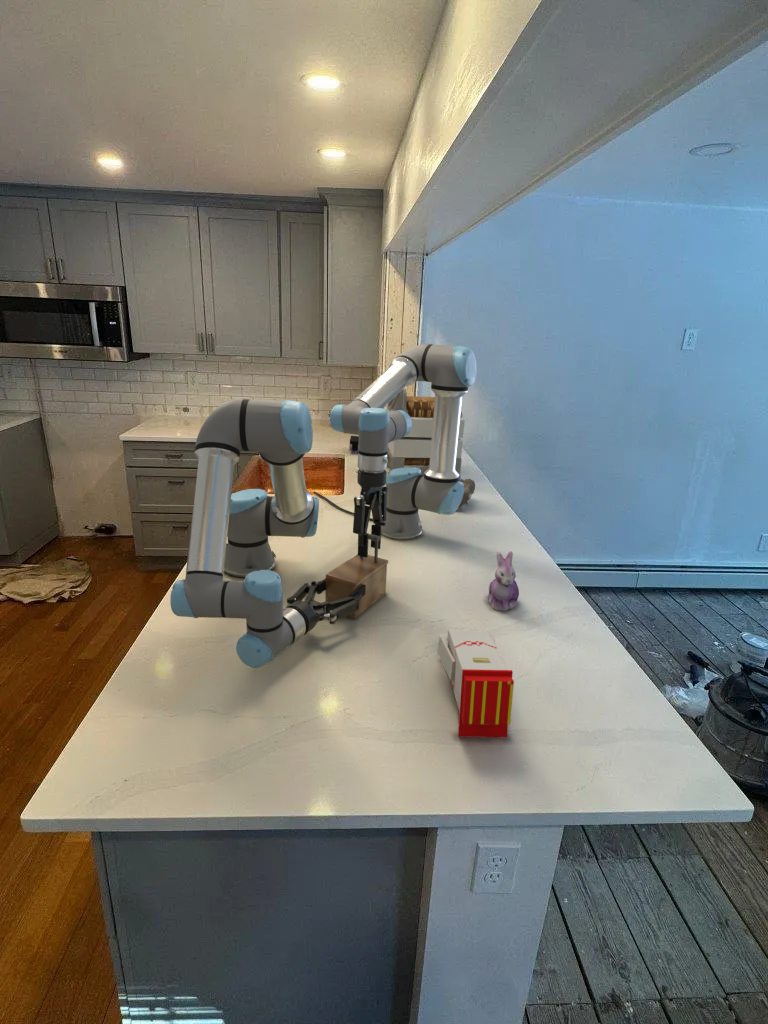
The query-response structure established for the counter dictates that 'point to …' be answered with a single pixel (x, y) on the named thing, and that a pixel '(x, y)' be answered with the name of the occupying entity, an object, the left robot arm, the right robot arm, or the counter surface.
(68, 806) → the counter surface
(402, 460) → the white wooden crate
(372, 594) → the chest
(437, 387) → the right robot arm
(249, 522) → the left robot arm
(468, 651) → the toy
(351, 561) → the door
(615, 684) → the counter surface
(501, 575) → the figurine
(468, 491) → the fossil
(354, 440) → the figurine character
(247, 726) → the counter surface
